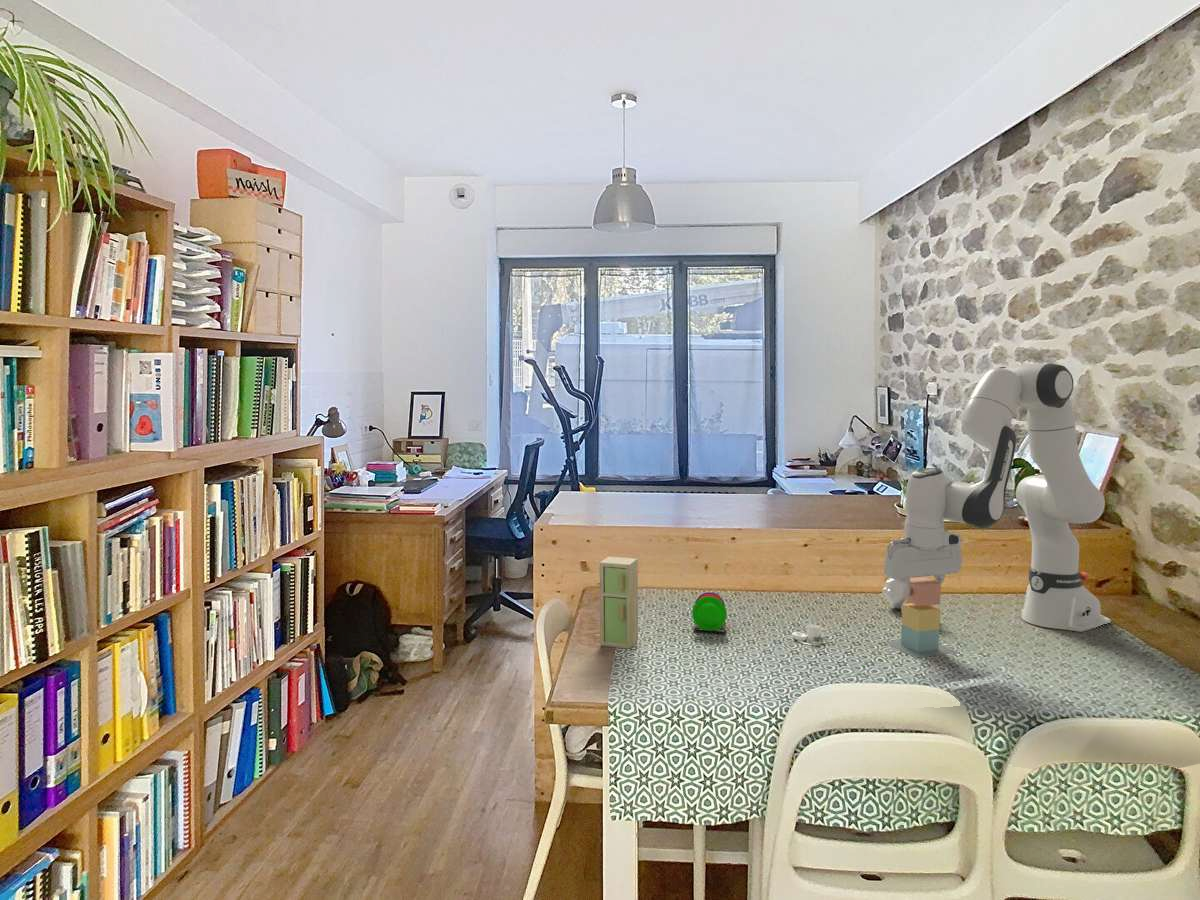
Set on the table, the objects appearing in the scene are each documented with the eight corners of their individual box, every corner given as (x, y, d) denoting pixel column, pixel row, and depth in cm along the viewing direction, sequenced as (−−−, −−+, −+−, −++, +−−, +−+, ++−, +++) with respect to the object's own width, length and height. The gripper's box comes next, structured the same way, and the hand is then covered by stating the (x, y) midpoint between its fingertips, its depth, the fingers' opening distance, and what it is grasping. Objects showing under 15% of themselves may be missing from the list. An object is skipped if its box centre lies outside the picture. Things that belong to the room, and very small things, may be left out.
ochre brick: (921, 621, 204) (922, 601, 204) (939, 629, 198) (940, 608, 198) (901, 624, 202) (902, 604, 202) (918, 631, 196) (919, 611, 196)
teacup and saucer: (787, 641, 210) (788, 625, 209) (803, 634, 215) (804, 618, 215) (819, 649, 204) (819, 633, 203) (835, 641, 209) (835, 625, 209)
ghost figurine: (887, 602, 243) (888, 568, 242) (921, 607, 238) (922, 573, 237) (877, 609, 236) (879, 574, 235) (912, 615, 230) (913, 579, 229)
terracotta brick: (926, 597, 203) (927, 577, 202) (939, 604, 197) (940, 583, 196) (903, 598, 202) (904, 578, 201) (916, 605, 196) (917, 584, 196)
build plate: (921, 641, 208) (922, 636, 208) (957, 657, 197) (957, 652, 197) (882, 646, 204) (882, 642, 204) (916, 663, 193) (916, 658, 193)
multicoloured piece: (694, 627, 227) (692, 635, 212) (691, 592, 228) (689, 597, 213) (728, 625, 226) (728, 633, 211) (725, 590, 227) (724, 595, 212)
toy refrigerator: (598, 646, 204) (598, 562, 202) (608, 637, 211) (608, 556, 209) (629, 650, 201) (629, 565, 199) (638, 641, 208) (638, 558, 206)
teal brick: (920, 641, 205) (921, 621, 204) (938, 649, 199) (939, 629, 198) (900, 644, 202) (901, 624, 202) (918, 652, 197) (918, 631, 196)
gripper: (897, 542, 191) (894, 601, 193) (967, 536, 198) (964, 593, 200) (879, 537, 197) (877, 594, 199) (948, 531, 204) (945, 586, 206)
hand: (921, 593), depth 199 cm, fingers closed on terracotta brick, 6 cm apart
